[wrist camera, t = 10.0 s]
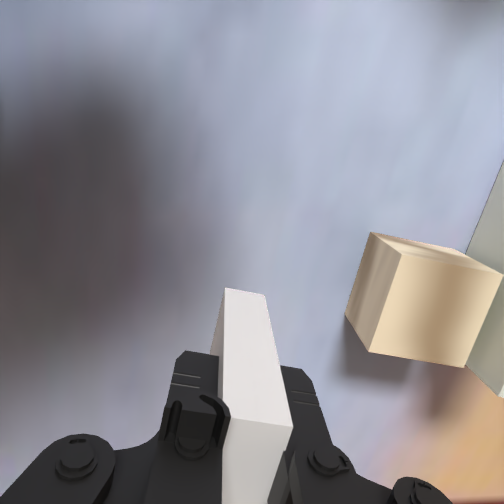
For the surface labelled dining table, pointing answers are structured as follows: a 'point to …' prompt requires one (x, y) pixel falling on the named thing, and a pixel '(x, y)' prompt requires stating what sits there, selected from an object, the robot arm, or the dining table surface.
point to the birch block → (420, 300)
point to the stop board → (500, 312)
